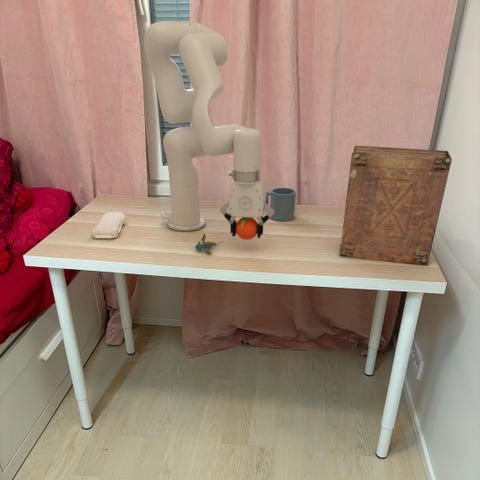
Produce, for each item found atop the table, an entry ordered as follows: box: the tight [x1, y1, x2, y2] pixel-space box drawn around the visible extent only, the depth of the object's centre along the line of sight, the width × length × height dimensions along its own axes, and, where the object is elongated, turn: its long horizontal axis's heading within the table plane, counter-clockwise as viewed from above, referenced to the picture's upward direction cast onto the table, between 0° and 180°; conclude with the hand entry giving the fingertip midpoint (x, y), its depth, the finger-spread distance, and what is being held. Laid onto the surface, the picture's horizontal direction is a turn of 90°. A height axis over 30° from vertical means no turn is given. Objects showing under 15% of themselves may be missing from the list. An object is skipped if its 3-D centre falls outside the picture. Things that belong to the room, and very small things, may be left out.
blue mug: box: [264, 187, 297, 222], centre depth 171 cm, size 12×9×10 cm
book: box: [339, 145, 453, 266], centre depth 136 cm, size 25×9×30 cm, turn 75°
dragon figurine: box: [194, 233, 223, 255], centre depth 147 cm, size 7×7×8 cm
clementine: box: [236, 217, 259, 241], centre depth 142 cm, size 8×7×7 cm
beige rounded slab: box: [91, 211, 127, 239], centre depth 160 cm, size 18×8×4 cm, turn 179°
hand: (246, 235), depth 143 cm, fingers closed on clementine, 7 cm apart
